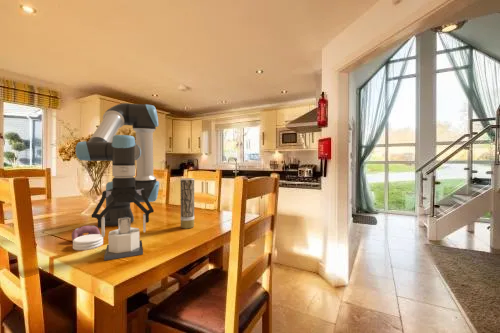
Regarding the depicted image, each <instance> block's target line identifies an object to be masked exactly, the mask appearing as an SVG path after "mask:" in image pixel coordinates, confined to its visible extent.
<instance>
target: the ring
mask: <svg viewBox="0 0 500 333" xmlns="http://www.w3.org/2000/svg"><path fill="white" fill-rule="evenodd" d="M107 235H108V238H107V239H108V245H109V252H114V253H122V252H128V251H132V250H134V249H136V248H139V247H140V240H141V239H140V228H139V227H132V226H131V232H130V233H127V234H118V229H117V228H116V229H114V230H111V231H109V232H108V234H107Z"/></svg>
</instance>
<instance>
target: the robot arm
mask: <svg viewBox="0 0 500 333" xmlns="http://www.w3.org/2000/svg"><path fill="white" fill-rule="evenodd" d="M159 125H160V124H159V117H158V110H157V109H156V107H155V105H152V104H147V103H146V104H145V103H130V102H129V103H127V102H126V103H124V102H123V103H119V104H115V105H113V106H111V107H109V108H107V110H106V111H105V112H104V113H103V116H102V121H101V122H100V123H99V125H98V127H97V128H96V129H95V131H94V132H93V134H92V135H91V137H90V138H89V139H88V141H85V140H83V141H78V142H77V144H76V146H75V156H76V158H77V159H78V160H79V161H83V162H85V161H86V162H97V161H98V162H103V161H104V162H112V166H111V168H112V170H111V172H112V173H111V174H112V176H113V178H112V179H111V180H112V181H108V182H107V183H106V184H105V189H104V190H103V191H102V193H101V198H100V200H99V202H98V203H97V205H96V207H95V208H94V211H93V212H92V214H91V218H92V219H96V220H97V228H98V229H100V228H101V229H100V230H101V232H100V235H102V237H103V238H105V236H106V234H105V233H106V230H105V229H106V228H105V226H107V227H108V226H109V227H110V226H111V227H112V226H113V227H115V226H118V219H119V218H122V217H130V224H131V223H133V222H134V221H135V217H134V214H133V211H132V208H131V203H132V204H133V203H134V204H135V205H136V206H137V207H138V208H139V210H140V211H142V212H143V214H142V219H143V220H142V223H143V224H142V225H143V226H142V228H143V230H142V231H143V233H146V230H147V228H146V227H147V223H149V222H150V219H149V218H150V216H149V215H150V214H151V213H155V210H154V208H153V207H152V204H151V202H153V203H154V202H156V201H157V199H158V196H159V190H160V181H159V180H157V177H156V176H155V175H154V139H153V138H154V132H155V131H156V129H157V128H158V127H159ZM123 126H132V130H133V131H134V132H135V136H133V135H127V134H117V133H118V131H119V129H120V128H122V127H123ZM104 202H105V208H104V209H103V210H102V211H101V212H100V213H98V212H99V211H100V209H101V208H102V206H103V205H104ZM142 203H145V204H146V206H147V208H148V209H147V208H146V207H145V206H144V205H143V204H142Z"/></svg>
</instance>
